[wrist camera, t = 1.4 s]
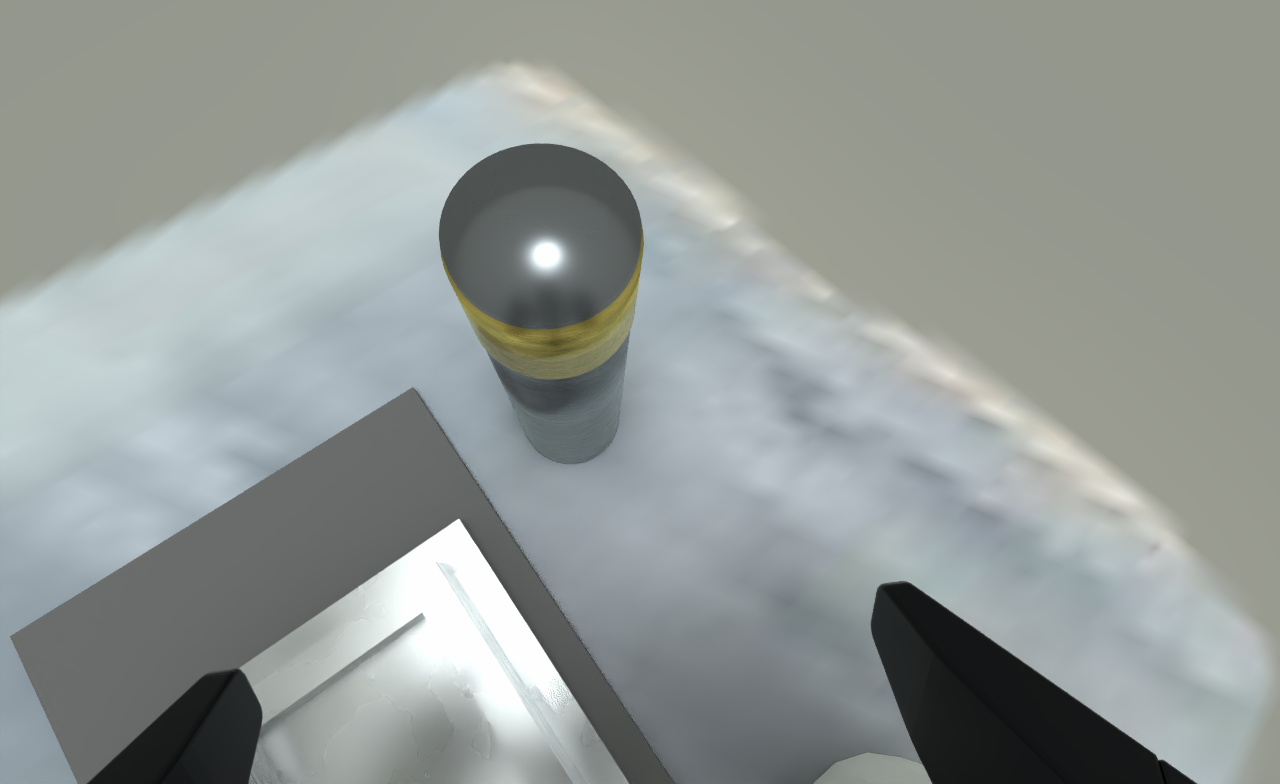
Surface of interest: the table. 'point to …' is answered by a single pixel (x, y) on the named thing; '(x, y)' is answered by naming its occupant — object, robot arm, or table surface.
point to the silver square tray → (423, 686)
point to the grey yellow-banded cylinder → (549, 287)
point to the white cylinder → (875, 771)
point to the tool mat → (286, 587)
